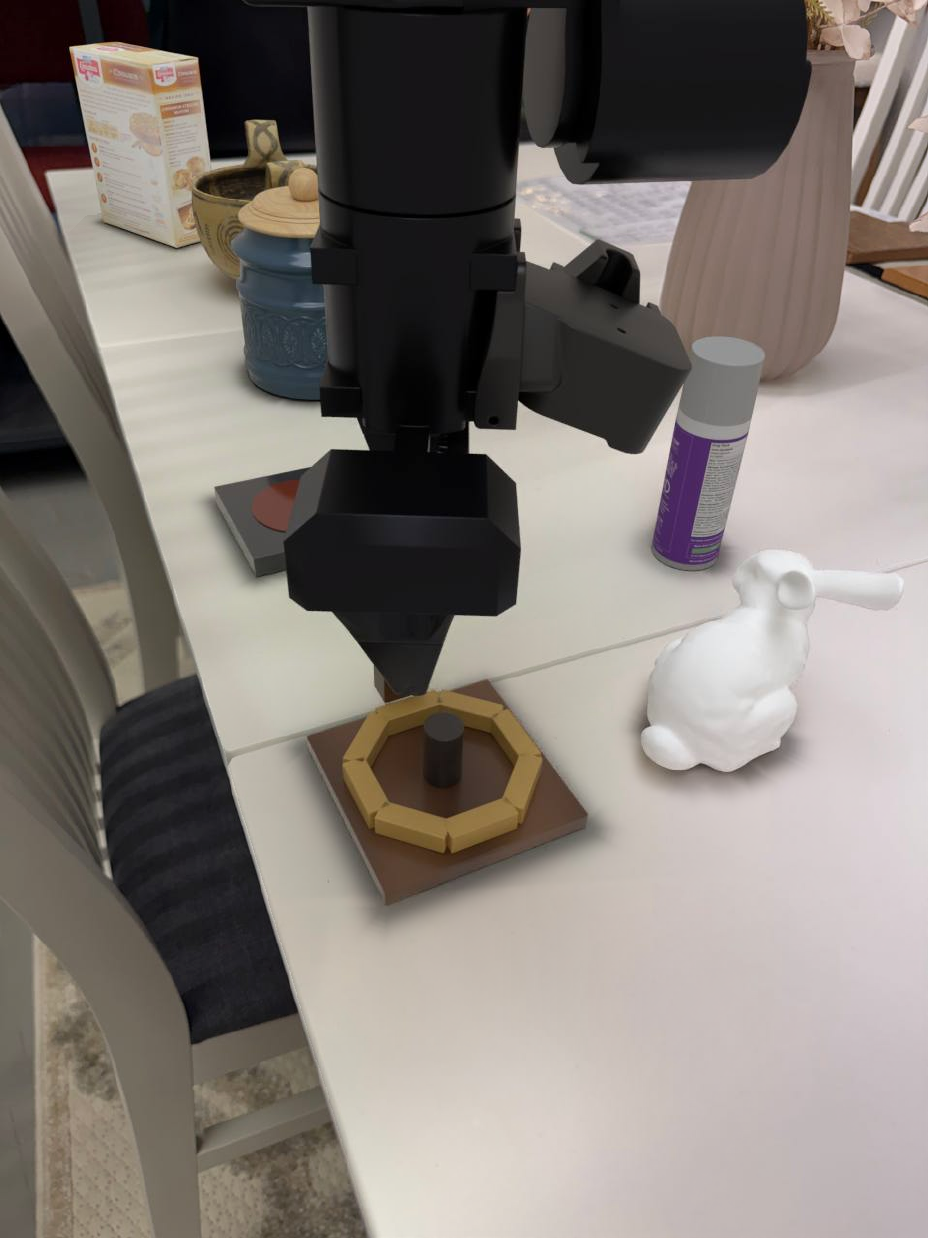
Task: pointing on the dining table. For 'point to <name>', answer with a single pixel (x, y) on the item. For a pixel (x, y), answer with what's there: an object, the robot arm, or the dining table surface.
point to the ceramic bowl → (238, 192)
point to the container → (706, 451)
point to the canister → (282, 289)
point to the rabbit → (747, 663)
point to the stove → (260, 516)
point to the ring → (423, 825)
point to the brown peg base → (441, 796)
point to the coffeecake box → (144, 136)
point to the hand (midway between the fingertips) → (416, 611)
